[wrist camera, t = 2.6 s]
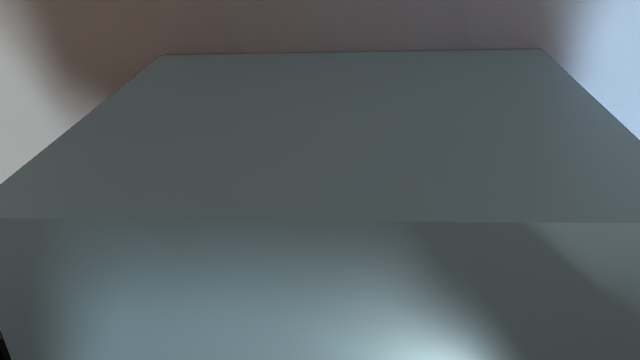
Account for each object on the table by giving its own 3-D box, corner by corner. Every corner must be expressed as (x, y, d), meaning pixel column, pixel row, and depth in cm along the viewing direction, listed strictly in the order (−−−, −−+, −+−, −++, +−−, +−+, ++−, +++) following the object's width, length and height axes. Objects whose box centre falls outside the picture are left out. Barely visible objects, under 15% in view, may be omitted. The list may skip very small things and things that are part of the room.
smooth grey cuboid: (206, 339, 20) (106, 618, 13) (161, 55, 16) (-42, 217, 8) (500, 346, 20) (587, 652, 12) (541, 48, 15) (728, 224, 7)
